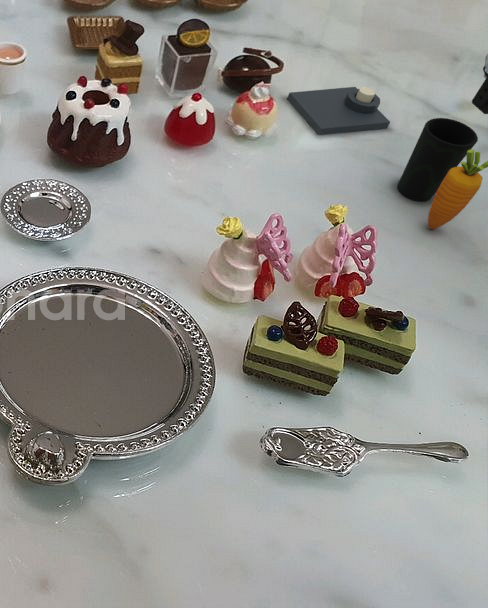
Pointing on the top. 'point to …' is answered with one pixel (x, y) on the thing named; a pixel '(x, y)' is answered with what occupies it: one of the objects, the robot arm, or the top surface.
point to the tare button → (365, 94)
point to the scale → (338, 110)
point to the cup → (435, 157)
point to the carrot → (456, 190)
